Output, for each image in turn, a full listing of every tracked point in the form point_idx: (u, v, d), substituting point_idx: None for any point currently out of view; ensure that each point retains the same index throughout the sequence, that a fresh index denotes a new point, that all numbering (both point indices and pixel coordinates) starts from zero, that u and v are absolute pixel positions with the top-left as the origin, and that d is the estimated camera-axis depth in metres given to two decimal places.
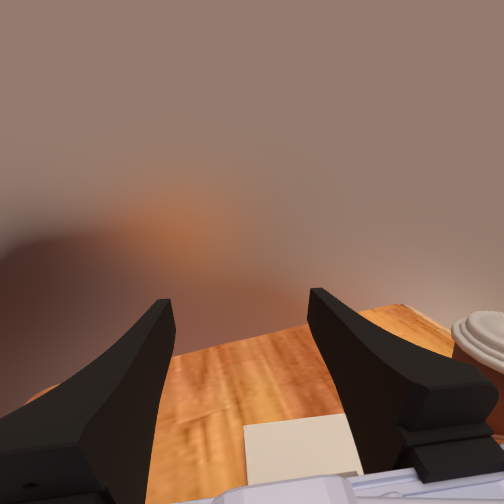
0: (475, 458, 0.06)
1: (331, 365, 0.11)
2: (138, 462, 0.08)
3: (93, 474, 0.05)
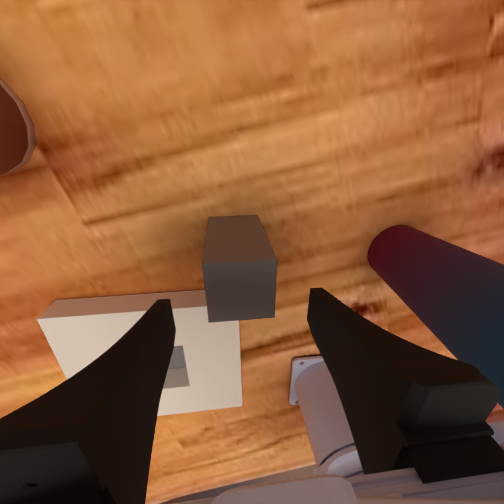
0: (475, 458, 0.06)
1: (331, 365, 0.11)
2: (138, 462, 0.08)
3: (93, 474, 0.05)
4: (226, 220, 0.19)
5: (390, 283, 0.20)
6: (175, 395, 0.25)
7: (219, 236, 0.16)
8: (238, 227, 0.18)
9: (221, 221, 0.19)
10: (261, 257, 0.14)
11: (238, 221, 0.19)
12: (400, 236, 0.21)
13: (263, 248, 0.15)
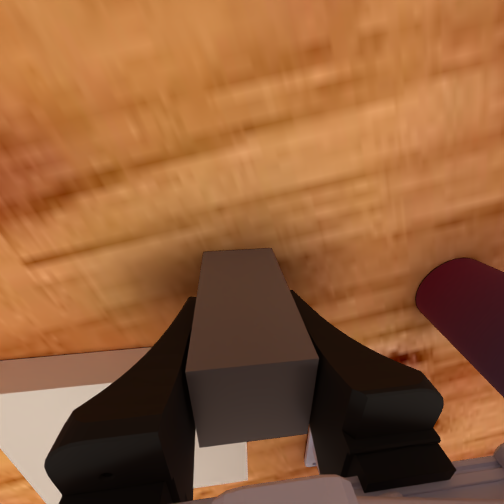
0: (418, 467, 0.06)
1: None
2: (188, 455, 0.08)
3: (166, 464, 0.05)
4: (228, 258, 0.13)
5: (458, 344, 0.14)
6: None
7: (218, 295, 0.10)
8: (246, 273, 0.12)
9: (220, 260, 0.13)
10: (290, 351, 0.08)
11: (246, 261, 0.13)
12: (470, 277, 0.15)
13: (290, 325, 0.09)
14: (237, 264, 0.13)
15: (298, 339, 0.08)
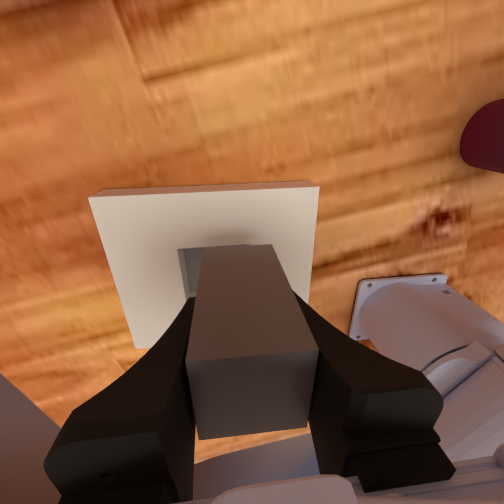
0: (418, 467, 0.06)
1: None
2: (188, 456, 0.08)
3: (165, 464, 0.05)
4: (228, 254, 0.14)
5: None
6: None
7: (218, 288, 0.11)
8: (246, 267, 0.12)
9: (221, 256, 0.13)
10: (290, 343, 0.08)
11: (246, 256, 0.13)
12: None
13: (290, 318, 0.09)
14: (237, 259, 0.13)
15: (298, 331, 0.08)
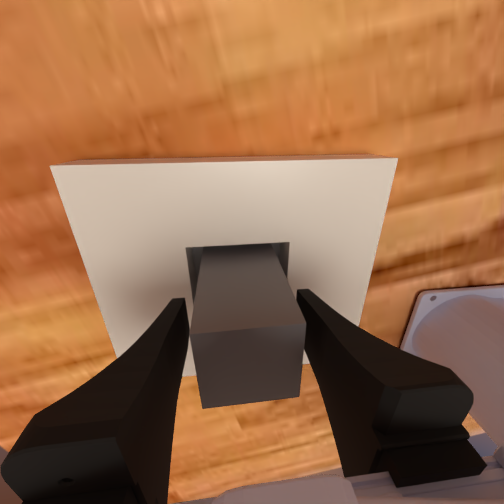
0: (449, 462, 0.06)
1: (316, 367, 0.11)
2: (161, 459, 0.08)
3: (127, 469, 0.05)
4: (227, 245, 0.15)
5: None
6: None
7: (218, 275, 0.12)
8: (243, 257, 0.13)
9: (220, 247, 0.14)
10: (281, 318, 0.09)
11: (243, 247, 0.14)
12: None
13: (282, 298, 0.10)
14: (235, 250, 0.14)
15: (289, 309, 0.09)
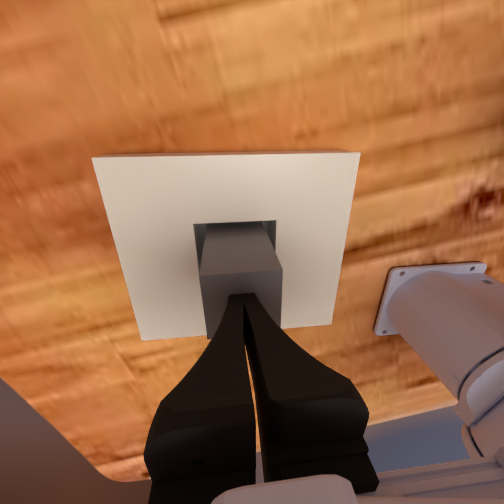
0: None
1: (252, 373, 0.11)
2: None
3: (255, 452, 0.06)
4: (226, 224, 0.18)
5: None
6: None
7: (219, 243, 0.15)
8: (239, 231, 0.16)
9: (221, 225, 0.18)
10: (265, 267, 0.12)
11: (239, 225, 0.18)
12: None
13: (267, 256, 0.13)
14: (233, 227, 0.17)
15: (271, 262, 0.13)
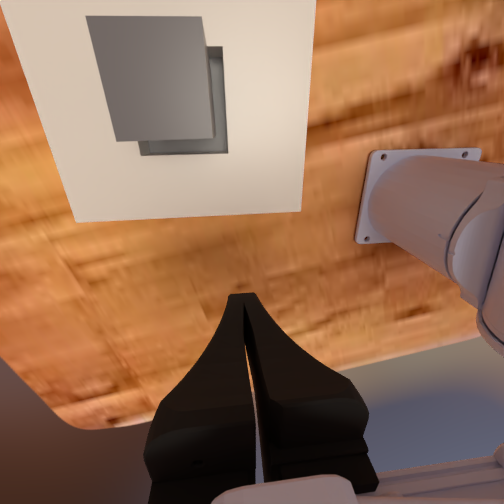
0: None
1: (252, 373, 0.11)
2: None
3: (255, 452, 0.06)
4: None
5: None
6: (206, 172, 0.17)
7: None
8: None
9: None
10: (180, 20, 0.09)
11: None
12: None
13: None
14: None
15: None
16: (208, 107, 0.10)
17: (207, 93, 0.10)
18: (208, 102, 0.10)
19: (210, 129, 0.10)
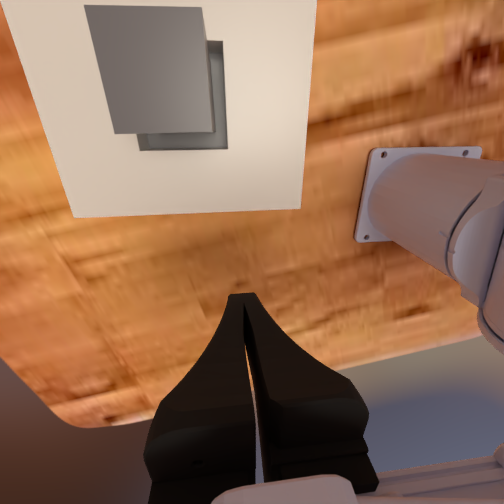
0: None
1: (252, 373, 0.11)
2: None
3: (255, 452, 0.06)
4: None
5: None
6: (205, 168, 0.17)
7: None
8: None
9: None
10: (179, 10, 0.09)
11: None
12: None
13: None
14: None
15: None
16: (208, 100, 0.10)
17: (207, 85, 0.10)
18: (208, 95, 0.10)
19: (210, 122, 0.10)
